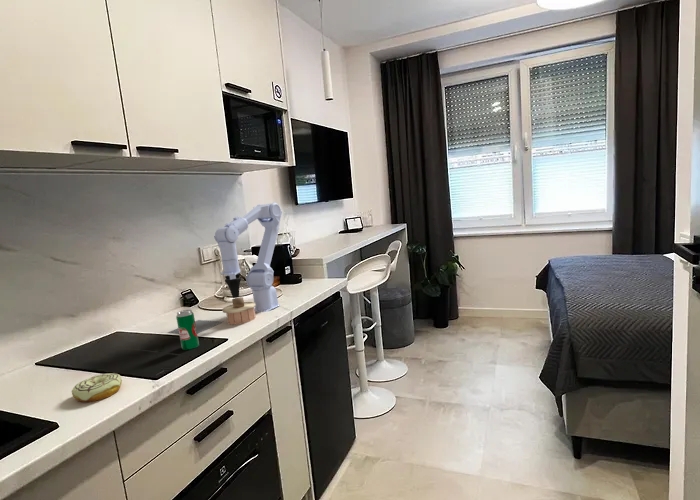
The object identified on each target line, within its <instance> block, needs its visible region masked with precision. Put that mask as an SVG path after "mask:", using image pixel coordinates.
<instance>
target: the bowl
mask: <svg viewBox="0 0 700 500" xmlns="http://www.w3.org/2000/svg"><path fill="white" fill-rule="evenodd" d="M225 315H226V321H227V323H228V325H241V324H246V323H249V322H251V321H254V320H255V319H256V318H257V317H256V316H257V315H256V311H255V307H254V308H252V309H249V310H246V311H242V312H237V313H225Z"/></svg>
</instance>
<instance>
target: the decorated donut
mask: <svg viewBox="0 0 700 500" xmlns="http://www.w3.org/2000/svg"><path fill="white" fill-rule="evenodd" d="M122 381H123V380H122V375H120V374H118V373H115V372H113V373H101V374H96V375H94V376H91V377H89V378H86V379H84V380H82V381H80V382H78V383H77V384H75V385H74V387H73V388H72V389H71V395H72V397H73V398H74V399H75V400H76V401H78V402H81V403H85V402H86V403H87V402H91V403H93V402H96V401H100V400H103V399H107V398H110V397H112V396H113V395H114V394H116V393H117V392H118V391H120V388H121V385H122Z"/></svg>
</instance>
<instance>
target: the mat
mask: <svg viewBox="0 0 700 500" xmlns="http://www.w3.org/2000/svg"><path fill="white" fill-rule="evenodd" d="M223 323H225V321H222V320H207V319H206V320H202V319H197V320H195V324H196V330H197V335H199V333H200V334H201V333H202V332H204V331H207V330H208V329H210V328H213V327H215V326H219V325H221V324H223ZM167 334H178V335H179V329H178V327H177V328H175V329H173V330H171V331H168V332H167Z"/></svg>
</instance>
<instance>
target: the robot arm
mask: <svg viewBox="0 0 700 500" xmlns="http://www.w3.org/2000/svg"><path fill="white" fill-rule="evenodd" d="M282 213H283V211H282V209H281V206H280V205H279V204H278V203H277V202H272V203H265V204H257V205H256V206H253V207H252V209H251V210H250V211H249V212H247V213H246V214H245V215H244V216H234V217H233V218H232V219H233V220H231V221H230V222H229V223H225V224H224V227H218V228H217V229H216V231H215V233H214V240H215V242H216V243H217V246H218V247H219V251H220V257H221V258H220V259H221V264H222V268H223V271H221V272H220V275H221V276H223V275H224V278H225V279H224V282H225V283H226V285H227V286H228V288H229V290H230V291H229V292H230V294H231V297H232V298H233V299H234V298H239V297H240V283H241V281H242V277H241V269H240V263H239V259H238V258H239V257H238V250H237V244H236V242H237V240H238V239H239V236H240V235H242V233H244V232H245V231H247V230H248V228H249V225H250V224H251V223H254V222H255V221H256V220H257V221H258V222H259V224H261V226H262V227H264V232H263V236H262V241H261V245H260V247H259V251H258V252H259V253H258V255H257V260H256V263H255V264H254V265H253V266H251V268H250V270H249V272H248V273H247V275H246V279H245V281H246V284H247V286H248V287H249V288H250V290H252V297H253V302H254V303H255V305H256V306H255V307H254V309H255V313H257V312H258V313H259V312H261V313H266V312H269V311H272V310H274V309H277V308H278V307H280V306H281V304H279V300H278V293H277V289H276V287H275V286H273V283H274V272H275V271H274V270H273V268H272V267H271V262H272V260H273V259H272V258H273V254H274V250H275V247H276V242H277V238H278V233H279V230H280V221H281V218H282Z"/></svg>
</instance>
